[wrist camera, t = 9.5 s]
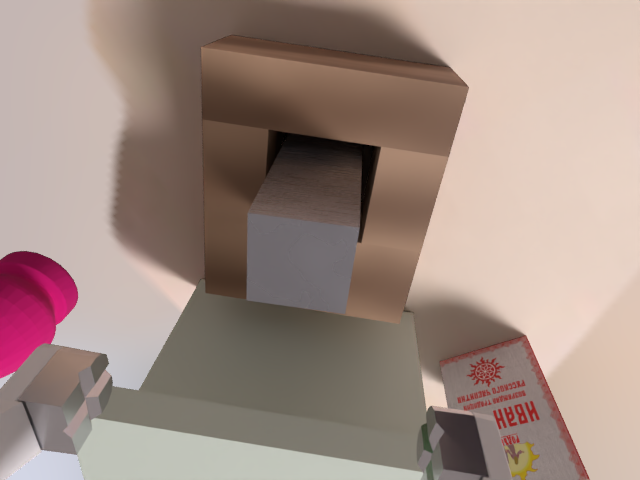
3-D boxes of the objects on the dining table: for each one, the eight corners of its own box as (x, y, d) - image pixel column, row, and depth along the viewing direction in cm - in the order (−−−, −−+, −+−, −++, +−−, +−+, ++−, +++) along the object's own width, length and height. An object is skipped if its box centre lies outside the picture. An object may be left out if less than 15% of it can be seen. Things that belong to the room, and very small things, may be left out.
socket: (231, 34, 24) (200, 47, 19) (450, 67, 23) (468, 87, 19) (227, 249, 31) (205, 293, 27) (395, 276, 31) (399, 324, 26)
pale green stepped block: (199, 220, 30) (65, 413, 17) (430, 257, 30) (480, 481, 16) (201, 289, 33) (89, 497, 20) (410, 322, 33) (438, 556, 19)
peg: (295, 119, 26) (247, 212, 15) (363, 127, 25) (359, 227, 15) (291, 181, 28) (246, 300, 17) (353, 189, 28) (345, 314, 17)
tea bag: (540, 367, 34) (598, 498, 25) (456, 390, 36) (483, 518, 27) (525, 335, 32) (582, 462, 24) (439, 361, 35) (462, 487, 26)
